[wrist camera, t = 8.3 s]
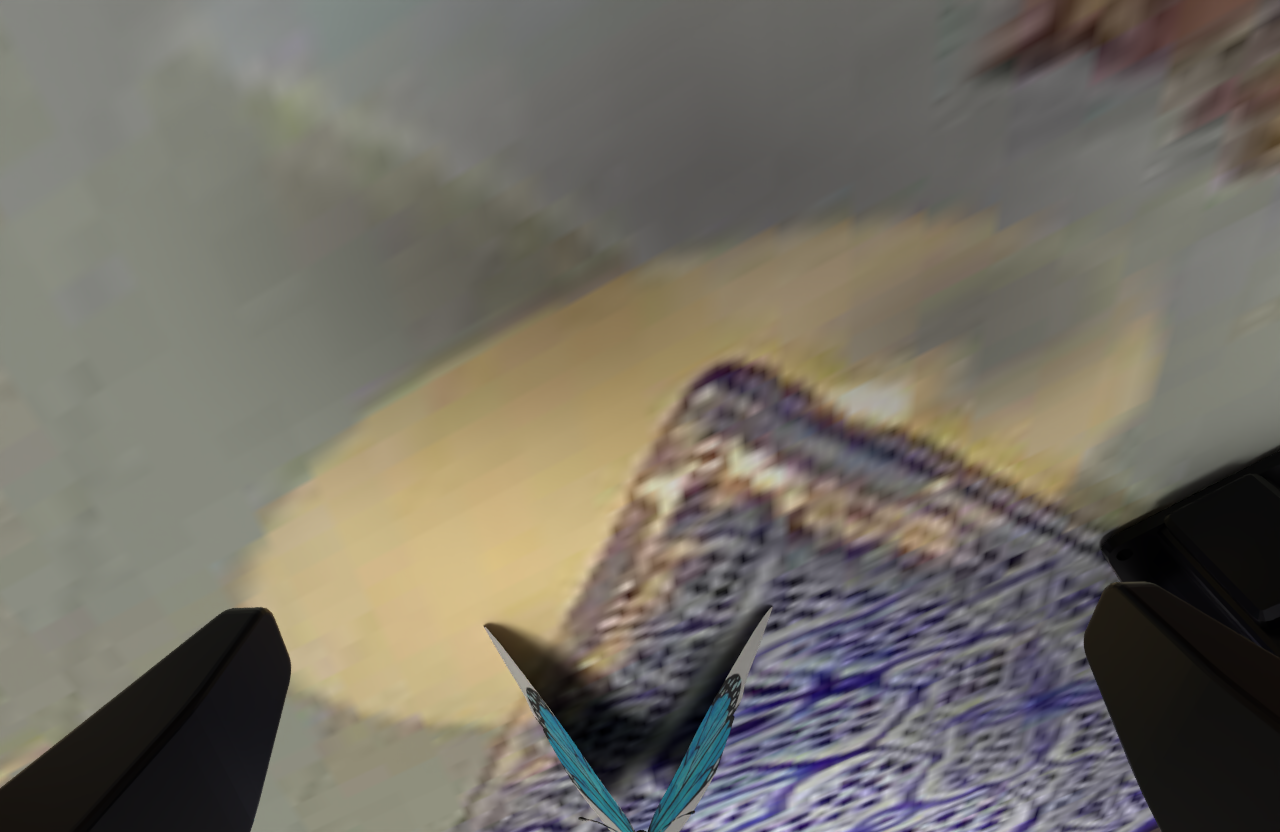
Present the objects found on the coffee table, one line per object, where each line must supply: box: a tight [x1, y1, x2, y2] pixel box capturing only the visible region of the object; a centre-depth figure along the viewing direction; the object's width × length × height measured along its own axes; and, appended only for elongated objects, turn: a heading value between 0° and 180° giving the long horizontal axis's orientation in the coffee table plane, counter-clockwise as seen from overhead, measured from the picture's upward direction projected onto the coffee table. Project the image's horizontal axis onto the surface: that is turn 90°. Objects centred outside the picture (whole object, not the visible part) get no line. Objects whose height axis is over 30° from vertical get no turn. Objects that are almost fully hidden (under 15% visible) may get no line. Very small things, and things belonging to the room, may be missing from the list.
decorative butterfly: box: [484, 607, 773, 832], centre depth 27 cm, size 10×6×10 cm
